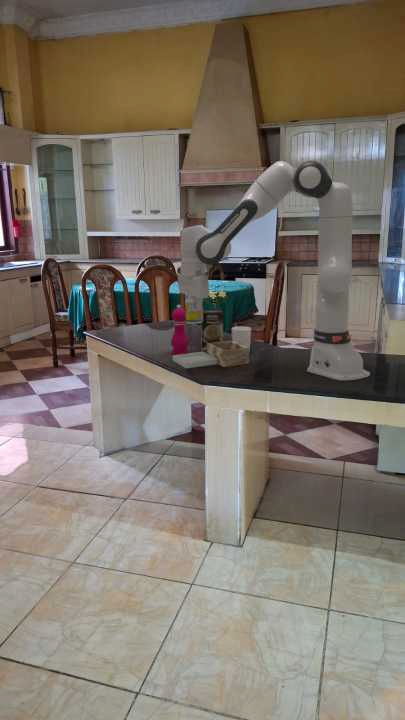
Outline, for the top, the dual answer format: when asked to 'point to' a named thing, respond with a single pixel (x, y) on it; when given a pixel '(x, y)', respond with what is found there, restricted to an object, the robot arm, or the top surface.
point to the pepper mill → (179, 332)
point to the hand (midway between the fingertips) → (194, 307)
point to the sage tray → (194, 360)
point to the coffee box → (211, 327)
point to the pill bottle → (193, 310)
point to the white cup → (242, 336)
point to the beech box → (228, 353)
